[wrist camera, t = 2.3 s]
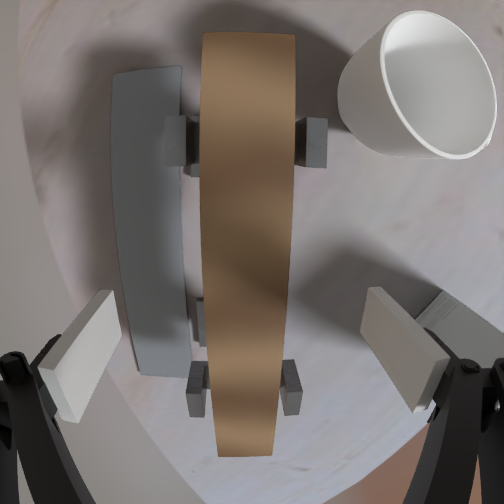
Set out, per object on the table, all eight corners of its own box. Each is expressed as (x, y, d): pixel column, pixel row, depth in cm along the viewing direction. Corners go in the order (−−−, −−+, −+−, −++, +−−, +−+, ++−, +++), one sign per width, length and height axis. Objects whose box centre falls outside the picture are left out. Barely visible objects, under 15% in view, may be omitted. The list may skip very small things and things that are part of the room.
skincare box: (413, 359, 32) (472, 442, 18) (392, 335, 30) (460, 428, 16) (460, 312, 30) (533, 381, 16) (444, 283, 29) (531, 355, 15)
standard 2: (196, 298, 27) (179, 379, 17) (283, 298, 28) (309, 376, 17) (200, 342, 29) (188, 427, 19) (280, 342, 29) (300, 425, 19)
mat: (114, 75, 21) (112, 74, 20) (181, 67, 21) (180, 65, 21) (141, 372, 30) (140, 374, 30) (194, 375, 30) (193, 378, 30)
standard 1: (192, 116, 22) (160, 90, 12) (290, 117, 23) (332, 93, 12) (191, 176, 24) (160, 194, 14) (289, 177, 24) (329, 195, 14)
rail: (209, 58, 14) (203, 32, 10) (281, 59, 14) (295, 35, 11) (219, 419, 22) (218, 456, 19) (267, 418, 23) (271, 455, 19)
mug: (303, 135, 23) (363, 114, 12) (330, 47, 21) (393, -16, 10) (416, 182, 25) (508, 203, 14) (435, 102, 23) (525, 88, 11)
